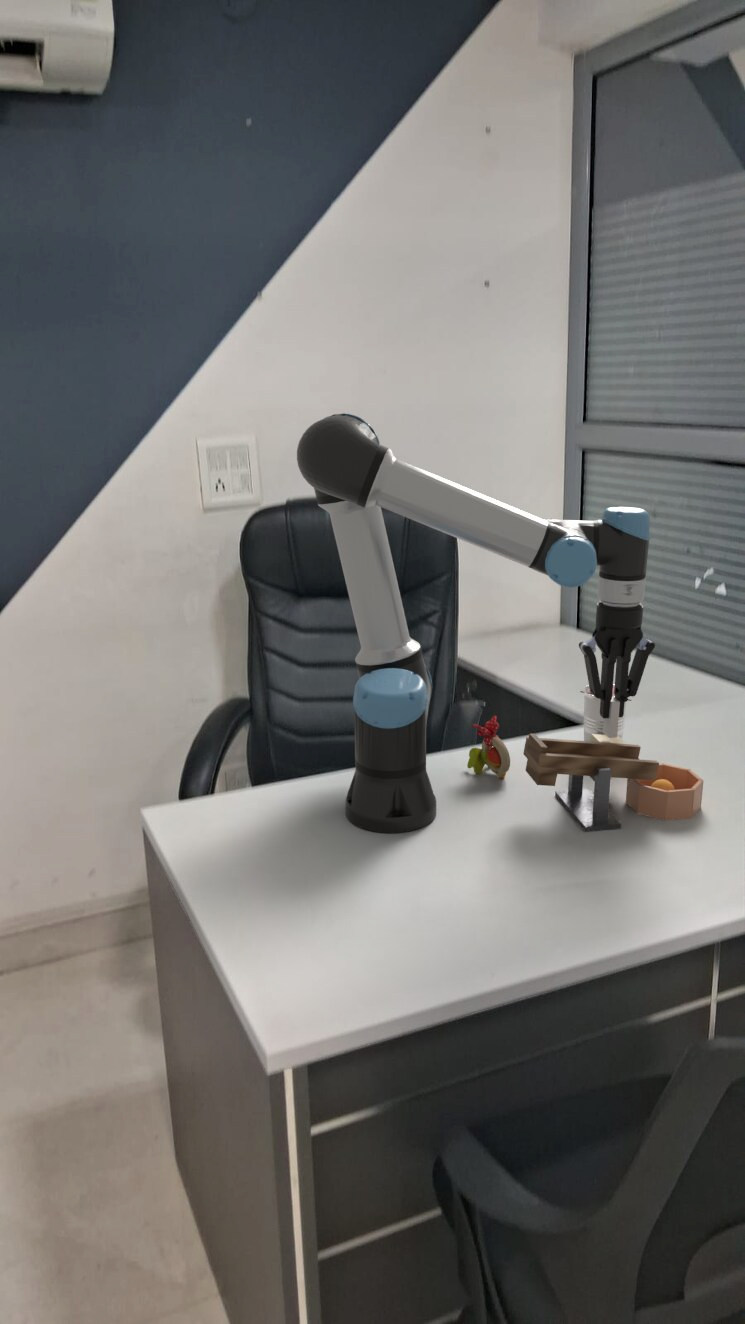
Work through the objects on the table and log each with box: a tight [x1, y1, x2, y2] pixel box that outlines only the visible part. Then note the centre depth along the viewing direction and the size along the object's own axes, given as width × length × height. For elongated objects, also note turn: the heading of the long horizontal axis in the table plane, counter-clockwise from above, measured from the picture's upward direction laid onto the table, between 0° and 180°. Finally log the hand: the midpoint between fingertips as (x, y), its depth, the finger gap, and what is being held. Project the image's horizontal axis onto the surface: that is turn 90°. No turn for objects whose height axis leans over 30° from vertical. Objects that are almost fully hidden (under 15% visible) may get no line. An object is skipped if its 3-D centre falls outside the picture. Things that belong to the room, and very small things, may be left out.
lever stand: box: [554, 766, 622, 833], centre depth 163 cm, size 6×14×10 cm, turn 10°
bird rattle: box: [466, 715, 511, 779], centre depth 179 cm, size 6×11×9 cm
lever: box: [523, 733, 660, 787], centre depth 166 cm, size 20×16×6 cm
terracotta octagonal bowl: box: [625, 763, 704, 821], centre depth 166 cm, size 11×11×5 cm
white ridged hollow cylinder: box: [580, 682, 632, 742], centre depth 189 cm, size 10×8×12 cm
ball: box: [651, 779, 675, 791], centre depth 166 cm, size 4×4×4 cm
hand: (609, 734), depth 171 cm, fingers closed
